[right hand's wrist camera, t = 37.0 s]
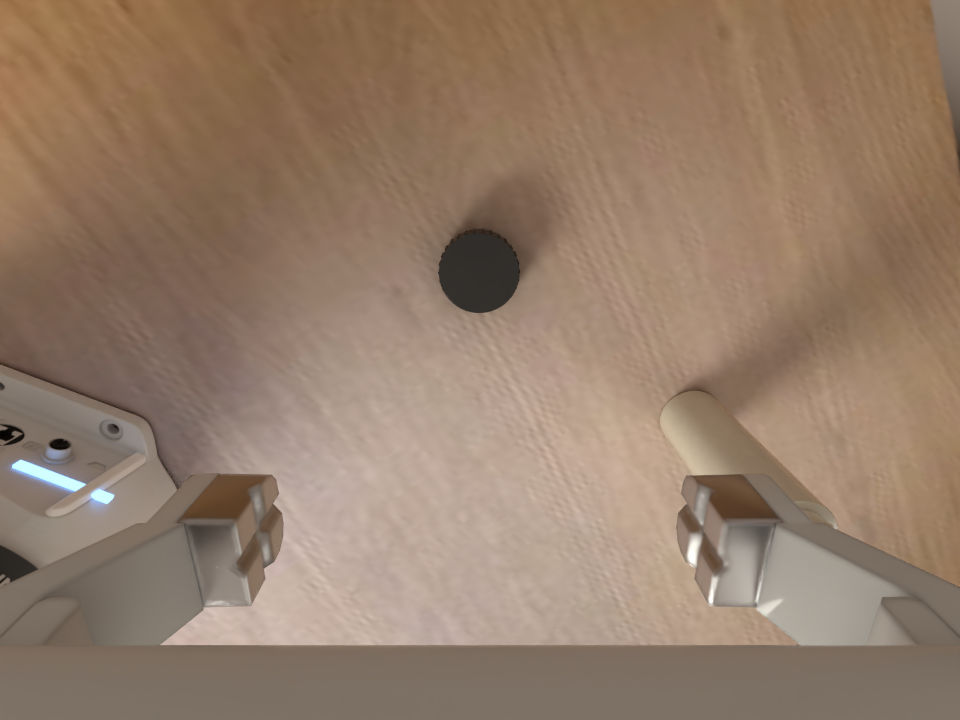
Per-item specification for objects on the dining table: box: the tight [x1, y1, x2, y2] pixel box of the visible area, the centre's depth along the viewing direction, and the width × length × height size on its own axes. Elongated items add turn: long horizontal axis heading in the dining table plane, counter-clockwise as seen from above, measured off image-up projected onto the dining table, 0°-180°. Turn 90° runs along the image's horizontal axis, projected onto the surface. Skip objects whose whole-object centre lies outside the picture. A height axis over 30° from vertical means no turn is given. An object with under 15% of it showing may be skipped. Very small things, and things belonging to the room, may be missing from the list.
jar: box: [660, 391, 839, 531], centre depth 32 cm, size 4×4×15 cm
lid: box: [438, 229, 520, 313], centre depth 34 cm, size 5×5×2 cm
